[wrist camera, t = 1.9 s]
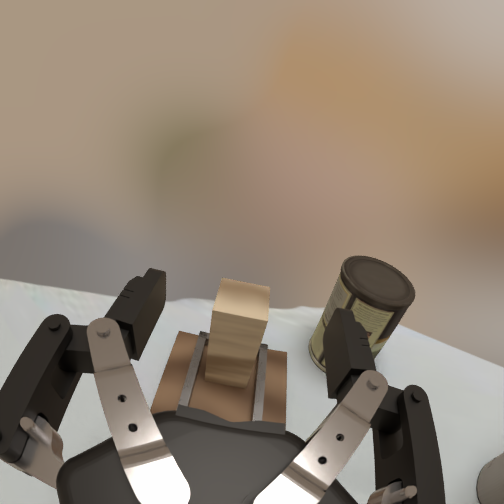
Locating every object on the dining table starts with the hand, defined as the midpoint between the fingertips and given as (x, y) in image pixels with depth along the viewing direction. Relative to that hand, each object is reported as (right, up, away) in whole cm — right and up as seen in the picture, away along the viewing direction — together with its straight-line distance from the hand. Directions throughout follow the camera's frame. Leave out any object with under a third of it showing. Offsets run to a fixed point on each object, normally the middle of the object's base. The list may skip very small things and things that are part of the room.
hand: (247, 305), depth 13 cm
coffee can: (+13, -13, +26) cm, 32 cm away
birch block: (-3, -12, +20) cm, 24 cm away
